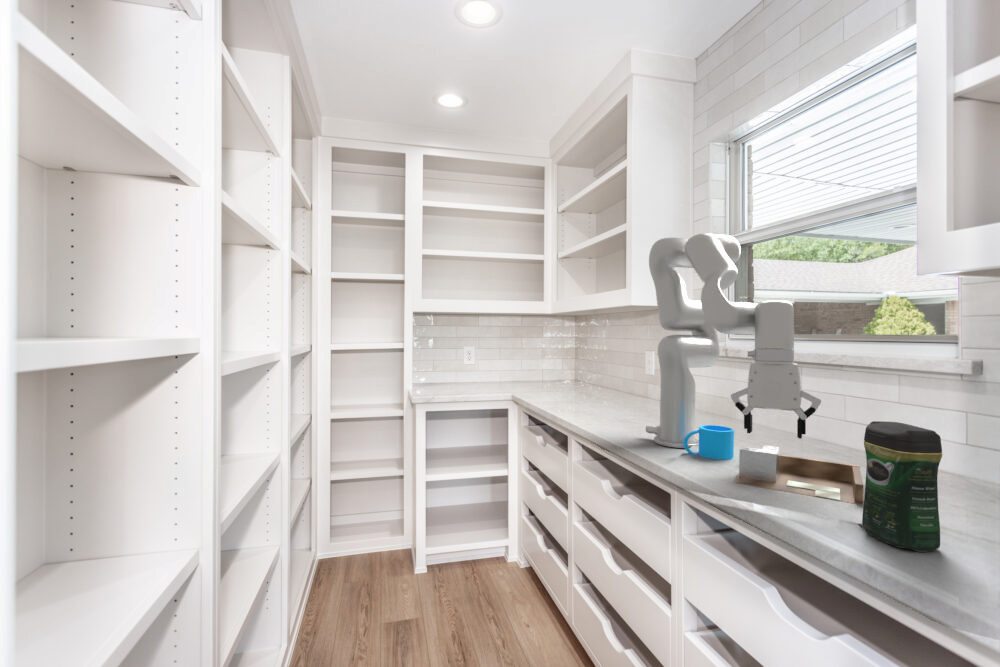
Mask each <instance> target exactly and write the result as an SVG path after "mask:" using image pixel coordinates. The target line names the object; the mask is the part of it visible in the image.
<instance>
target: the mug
mask: <svg viewBox="0 0 1000 667" xmlns="http://www.w3.org/2000/svg"><path fill="white" fill-rule="evenodd" d="M693 434H694V435H697V434H698V440H699V447H698V453H696V452H693V451H692V450H691V448H689V447H688V445H687V442H688V439H689V438H690V437H691V436H692V435H693ZM683 444H684V448H683V449H684V450H685V451H686V452H687V453H688V454H690V455H695V456H696V455H699V456H701V457H703V458H708V459H713V460H733V459H734V455H735V454H734V451H735V445H734V444H735V429H734V428H731V427H728V426H722V425H716V424H715V425H714V424H703V425H699V426H698V429H695V431H692V432H690V433H689V434H687V435H686V437H685V438H684V442H683Z"/></svg>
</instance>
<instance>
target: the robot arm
mask: <svg viewBox="0 0 1000 667" xmlns="http://www.w3.org/2000/svg"><path fill="white" fill-rule="evenodd" d="M741 249H742V248H741V245H740V243H739V241H738V240H737V239H736V238H735V237H734V236H732V235H727V234H716V233H715V234H714V233H698V234H695V235H693V236H691V237H690V238H685V237H664V238H660V239H658V240H656V241H655V242H654V243H653V245H652V247H651V248H650V251H649V255H648V267H649V272H650V275H651V278H652V282H653V284H654V288H655V297H656V304H657V305H656V306H657V313H658V320H659V323H660V325H661V327H662V328H663V329H664V330H667V331H670V332H672V331H673V332H691V334H669V335H667V336H665V337H662V339H660V341H659V343H658V345H657V357H658V363H659V370H660V400H659V403H660V404H659V405H660V406H659V411H660V413H659V425H657V426H653V425H646V426H645V433H647V434H654V435H656V436H654V437H653V441H654V442H653V443H656V444H658V445H660V446H665V447H668V448H669V447H670V448H677V449H685V448H684V444H683V442H684V438H685V437H686V435H687V434H689V433H690V432H692V431H695V430H696V429H695V427H696V425H695V424H696V423H695V422H696V381H695V378H694V376H693V374H692V372H691V371H690V368H698V369H700V368H701V369H702V368H711V367H713V366H715V365H716V364H717V363H718V362H719V358H720V350H721V349H720V340H719V335H718V334H719V333H721V334H724V335H746V336H747V335H748V336H749V335H751V336H752V335H754V349H752V350H751V351H747V358H751V359H753V360H754V362H750V365H749V369H748V370H749V371H748V377H747V378H748V379H747V380H748V381H747V387H746V388H744V389H741V390H738V391H736V392H733V393H731V394H730V398H731V400H732V402H733V403H734V405H735V407H736V408H737V409H738V410H739V411H740V412H741V413H742V415H743V428H744V430H746V433H747V434H752V432H753V414H752V411H753V410H754V409H766V410H779V411H780V410H781V411H793V412H794V413H795V414H796V415H797V416H798V418H797V420H796V421H797V425H796V426H797V428H796V429H797V431H796V432H797V433H796V434H797V438H798V439H802V438H803V435H806V433H807V431H806V430H807V429H806V427H807V426H806V425H807V424H806V421H807V419H808V418H810V416H812V415H813V414H814V413H816V412H817V410H818V408H819V406H820V405H821V403H822V399H821V398H819V397H816V396H814V395H813V394H810V393H809V392H806V391H804V390H803V389H802V385H801V374H800V369H799V365H798V363H795V320H794V318H795V316H794V315H795V314H794V313H795V311H794V310H795V308H794V305H793V303H792V302H790V301H788V300H766V301H765V300H764V301H760V302H758V303H757V302H737V301H736V302H735V301H729V300H728V299H727V298H726V296H725V294H724V293H723V291H724V290H726V289H727V288H729V287H730V286H731V285H733V284H734V283H735V281H736V280H737V278H738V274H739V271H738V268H737V266H736V263H737V262H738V261H739V259H740V257H741ZM676 268H685V269H686V268H687V269H689V268H690V269H694V271H695V272H696V274H697V276H698V277H699V279H700V280H701V281H702V283H703V287H702V289H701V293H700V299H689V298H688V294H687V287H686V283H685V280H684V279H683V277H682V276H681V275H680V273H679V272H678V271H677V270H676ZM745 395H746V397H747V399H746V400H747V404H748V405H747V406H746V405H745V404H744V403H742V402H741V400H740V397H742V396H745ZM802 398H803V399H805V400H807V401H809V402H811V405H810V406H809V407H808V408H807V409H806V410H804V409H803V408H802V407H801V405H802ZM687 445H688V447H689V449H691V448H692V447H698V448H699V439H697V438H695V434H693V435H692V436H691V437H690V438H689V439H688V442H687Z"/></svg>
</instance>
